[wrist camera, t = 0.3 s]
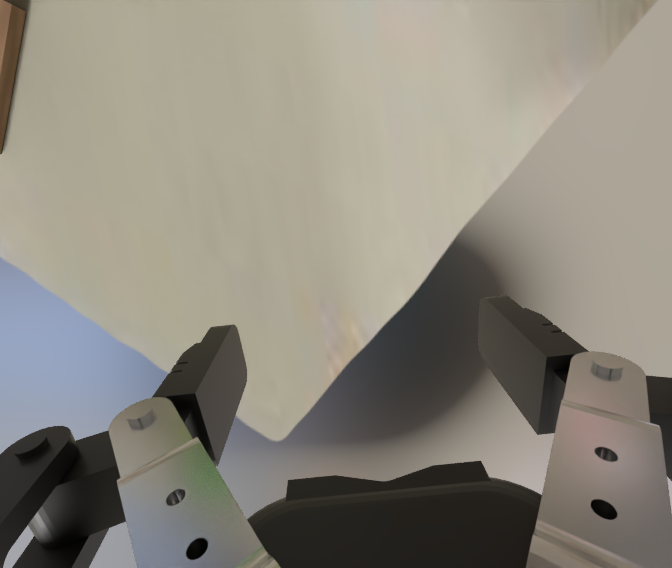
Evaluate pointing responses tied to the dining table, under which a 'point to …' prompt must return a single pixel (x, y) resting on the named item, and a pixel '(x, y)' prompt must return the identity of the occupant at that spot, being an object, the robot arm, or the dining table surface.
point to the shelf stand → (8, 56)
